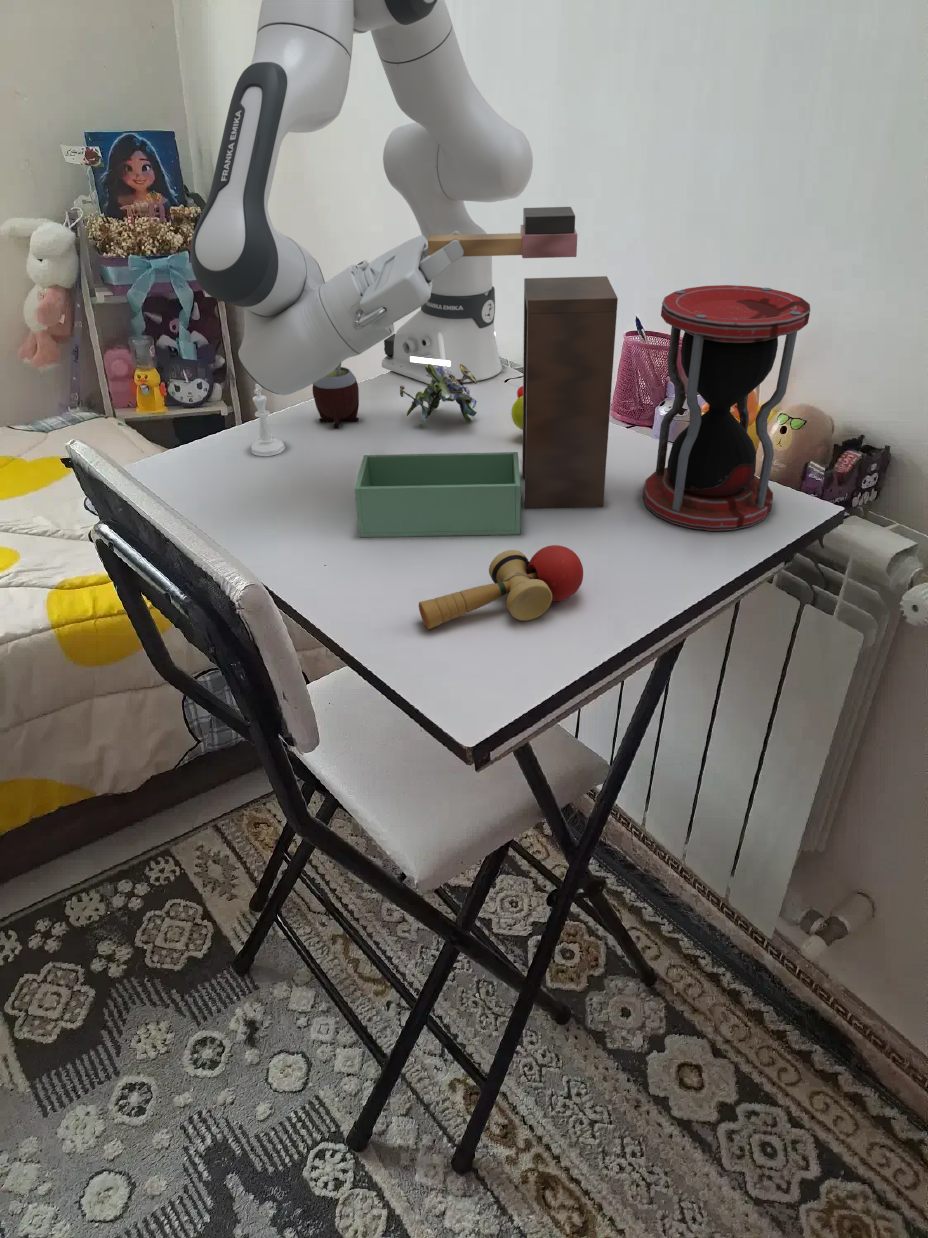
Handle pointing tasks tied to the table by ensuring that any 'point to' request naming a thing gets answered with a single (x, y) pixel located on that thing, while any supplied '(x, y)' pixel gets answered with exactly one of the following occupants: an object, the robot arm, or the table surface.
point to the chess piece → (264, 429)
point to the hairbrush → (522, 237)
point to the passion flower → (444, 392)
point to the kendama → (514, 586)
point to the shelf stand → (567, 389)
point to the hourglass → (721, 403)
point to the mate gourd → (337, 397)
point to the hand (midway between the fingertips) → (461, 241)
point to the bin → (439, 494)
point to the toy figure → (518, 409)
